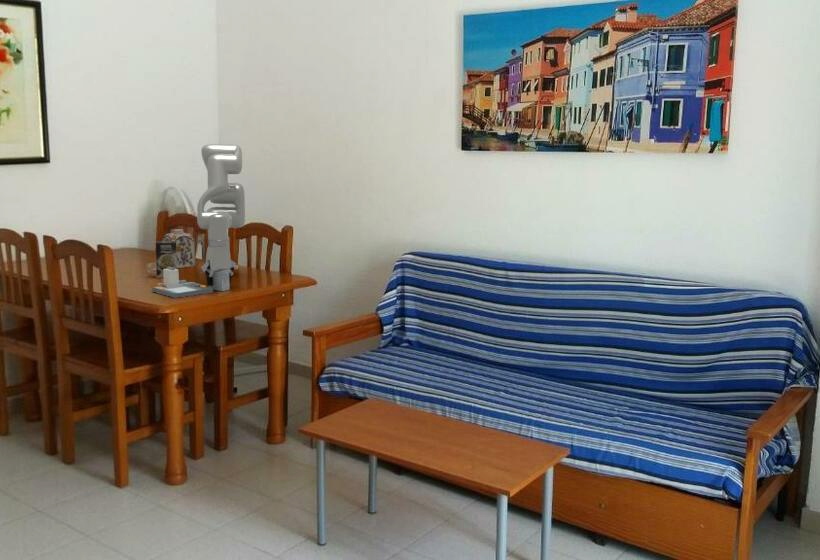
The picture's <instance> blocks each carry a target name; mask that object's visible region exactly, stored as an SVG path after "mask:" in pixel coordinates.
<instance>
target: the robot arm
mask: <svg viewBox="0 0 820 560" xmlns="http://www.w3.org/2000/svg"><path fill="white" fill-rule="evenodd" d="M201 157H202V162H203V163H204V166H205V168H206V171H207V189H206V190H205V192H203V193H202V194H201V196H200V198H199V199H198V203H197V206H196V207H197V208H196V209H197V212H196V213H197V214H196V215H197V216H196V218H197V219H196V220H197V221H196V222H197V225H198V227H199V228H200V229H202V230H207V243H208V246H207V249H206V253H205V263H204V264H203V265H201V267H200V269H201V271H202V273H203V274H204V275H205V276H206V283H207V285H206V286H208V287H209V286H213V277H212V274H213V272H214V271H220V270H229V284H231V283H232V276H234V270H238V269H239V265H238V264H237V263H236V262H235V261H233V260H232V257H231V251H230V241H231V240H230V237H229V234H228V233H229V232H228V229H231V228H233V229H240V228H242V227H244V226H245V222H246V206H245V205H246V203H245V202H246V201H245V189H244V186H243V185H242V184H240V183H239V182H229V180H228V179H229V178H228V177H229V176H228V175H239V174H240V173H242V169H243V152H242V148H241V147H240V146H239V145H237V144H219V143H218V144H216V143H215V144H214V143H212V144H210V143H209V144H205V145H203V146H202V147H201ZM209 201H210V203H212V204H215V205H234V206H214V207H212V206H211V207H209V208H208V209H207V210H206V211H205V205H206V204H207V203H208V202H209Z"/></svg>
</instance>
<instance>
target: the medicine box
mask: <svg viewBox="0 0 820 560" xmlns="http://www.w3.org/2000/svg"><path fill="white" fill-rule="evenodd" d="M212 277H213V286H209V285H208V287H212V288H213V291H218V292H219V291H220V292H226V290H227V291H229V290H230V283H229V270H220V271H214V272H213V274H212Z"/></svg>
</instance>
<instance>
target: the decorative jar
mask: <svg viewBox="0 0 820 560" xmlns="http://www.w3.org/2000/svg"><path fill="white" fill-rule="evenodd" d="M161 241H176V246H177V269H185V267H186V268H194V266H195V267H196V249H195V248H196V247H195V246H196V245H195V242H196V241H195V239H194V237H193V235H192V234H191V233H188V232H184V229H182V228H181V229H179V228H177V229H176V228H175V229H173V232H169V233H166V234H165V235H164V236H163V237H162V239H161Z"/></svg>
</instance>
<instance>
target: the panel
mask: <svg viewBox="0 0 820 560" xmlns="http://www.w3.org/2000/svg"><path fill="white" fill-rule="evenodd" d="M151 291H152V293H154V292H156V293H155V294H158V293H159V294H158V295H161V294H163V295H162V296H164V295H166V296H165V297H168V296H170V297H169V298H171V297H173V298H172V299H179V298H178V297H182V298H187V297H186V296H188V297H194V295H195V296H200V295H199V294H201V295H206V294H211V293H212V294H213V293H214V290H213V288H212V287H209V285H206V284H201V283H197V282H194V281H193V282H191V281H188V282H187V280H186V279H182V280H179V284H178V285H171V286H164V282H159V283H157V286H152V288H151Z"/></svg>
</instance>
